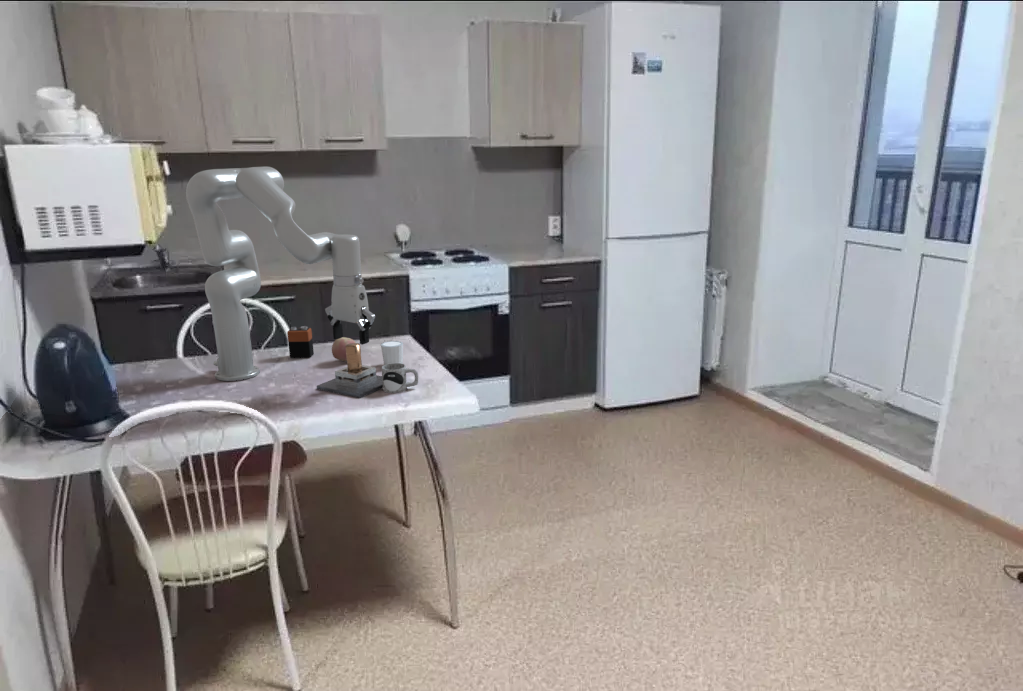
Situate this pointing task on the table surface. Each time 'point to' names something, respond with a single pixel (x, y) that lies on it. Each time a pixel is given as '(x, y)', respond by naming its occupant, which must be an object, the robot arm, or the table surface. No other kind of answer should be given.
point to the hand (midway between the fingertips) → (351, 340)
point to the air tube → (354, 358)
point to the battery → (300, 342)
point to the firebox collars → (354, 382)
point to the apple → (341, 348)
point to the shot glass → (392, 352)
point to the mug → (397, 377)
